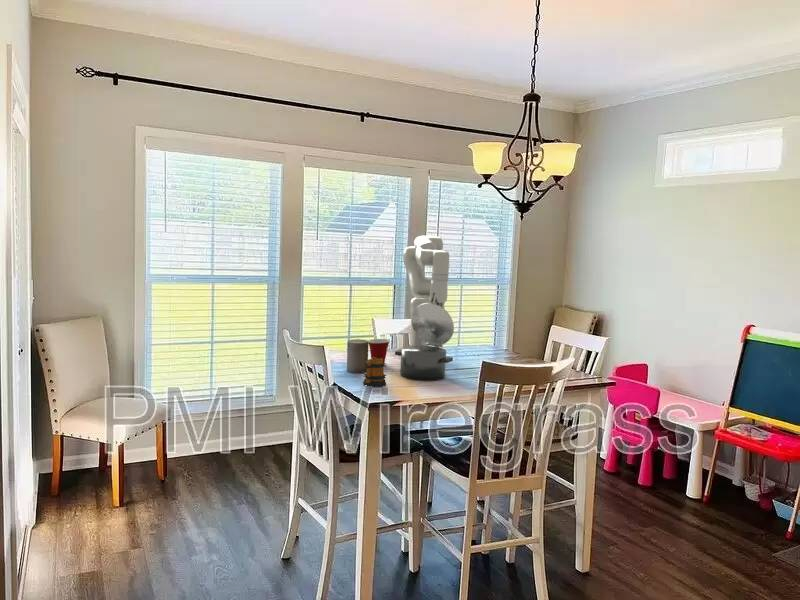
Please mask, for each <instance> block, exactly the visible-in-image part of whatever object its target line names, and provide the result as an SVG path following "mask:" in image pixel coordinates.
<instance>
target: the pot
mask: <svg viewBox="0 0 800 600" xmlns="http://www.w3.org/2000/svg"><path fill="white" fill-rule="evenodd" d="M394 356H400V369H399V370H400V373H399V374H400V377H401V378H404V379H407V380H412V381H419V382H436V381H442V380H444V379H445V377H446V364H449V363H452V362H453V360H454V359H453V358H454V357H452V356H447V350H446V349H445V348H443V347H437V346H430V345H428V346H422V345H413V346H410V345H406V346H402V347H401V349H399V350H395V351H394Z"/></svg>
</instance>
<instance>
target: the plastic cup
mask: <svg viewBox="0 0 800 600" xmlns="http://www.w3.org/2000/svg"><path fill="white" fill-rule="evenodd" d="M367 341H368V348H369V354H370V359H371V358H372V357H374V358H376V359H381V358H382V359H383V363H385V361H386V358H387V352H388V347H389V343H390V342H391V341H390V339H387V338H372V339H368V340H367Z"/></svg>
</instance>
